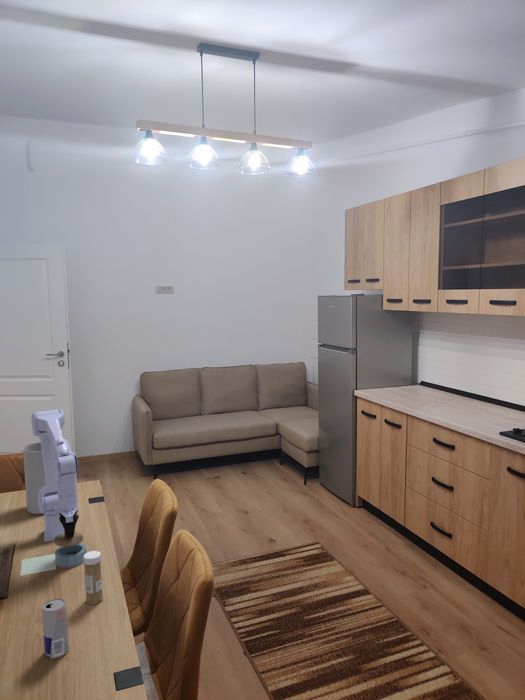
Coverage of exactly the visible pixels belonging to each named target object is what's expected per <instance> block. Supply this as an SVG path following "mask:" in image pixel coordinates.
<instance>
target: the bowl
mask: <svg viewBox="0 0 525 700" xmlns="http://www.w3.org/2000/svg"><path fill="white" fill-rule="evenodd" d="M86 553H88V551H87V545H86V544H84V543H82V542H81V543H79V544H77V545H74V546H69V547H61V546H58V547H57V549H56V550H55V551H54V554H55V559H56V567H57V566H58V568H65V569H66V568H67V569H68V568H73V567H77V566H80V565H82V564H84V559H83V557H84V555H85V554H86Z"/></svg>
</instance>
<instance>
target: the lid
mask: <svg viewBox="0 0 525 700" xmlns="http://www.w3.org/2000/svg"><path fill="white" fill-rule="evenodd" d="M83 540H84V536H83V534H82V533H80V532H77V531H75V533H74V537H70V538H67V537H66V535H65V531H64V533H63V534H60V535H58V536H56V537H55V539H54V540H53V542H54V545H56V546H58V547H69V546H74V545H77V544H79V543H82V542H83Z"/></svg>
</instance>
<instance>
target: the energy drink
mask: <svg viewBox="0 0 525 700" xmlns="http://www.w3.org/2000/svg"><path fill="white" fill-rule="evenodd" d="M67 613H68V612H67V603H66V601H65V599H63V598H53V599H49V600H47V601H46V602H44V603H43V606H42V609H41V617H42V632H43V647H44V656H45V657H46V658H48V659H50V660H52V659H53V660H54V659H58V658H59V659H60V658H62V657H63V656H65V654H67V652H68V651H69V649H70V646H69V632H68V631H69V628H68V614H67Z"/></svg>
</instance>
